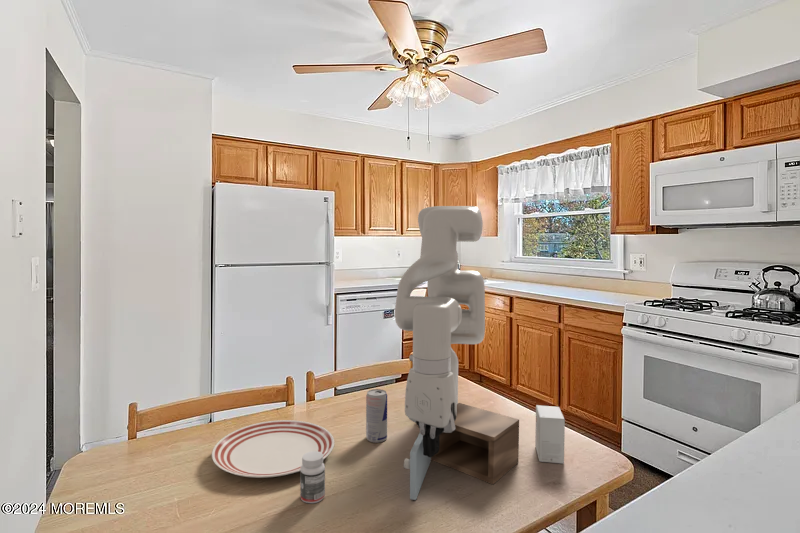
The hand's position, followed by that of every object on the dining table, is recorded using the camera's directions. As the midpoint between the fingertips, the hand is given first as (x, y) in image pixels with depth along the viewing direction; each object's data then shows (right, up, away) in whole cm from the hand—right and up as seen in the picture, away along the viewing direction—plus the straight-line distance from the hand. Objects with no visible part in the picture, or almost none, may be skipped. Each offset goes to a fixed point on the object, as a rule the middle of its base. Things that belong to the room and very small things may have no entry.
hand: (431, 453), depth 88 cm
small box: (+29, -7, +15) cm, 33 cm away
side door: (-2, -7, +4) cm, 8 cm away
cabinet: (+11, -7, +12) cm, 18 cm away
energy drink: (-12, -6, +24) cm, 27 cm away
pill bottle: (-23, -8, -2) cm, 25 cm away
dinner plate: (-36, -7, +14) cm, 39 cm away
